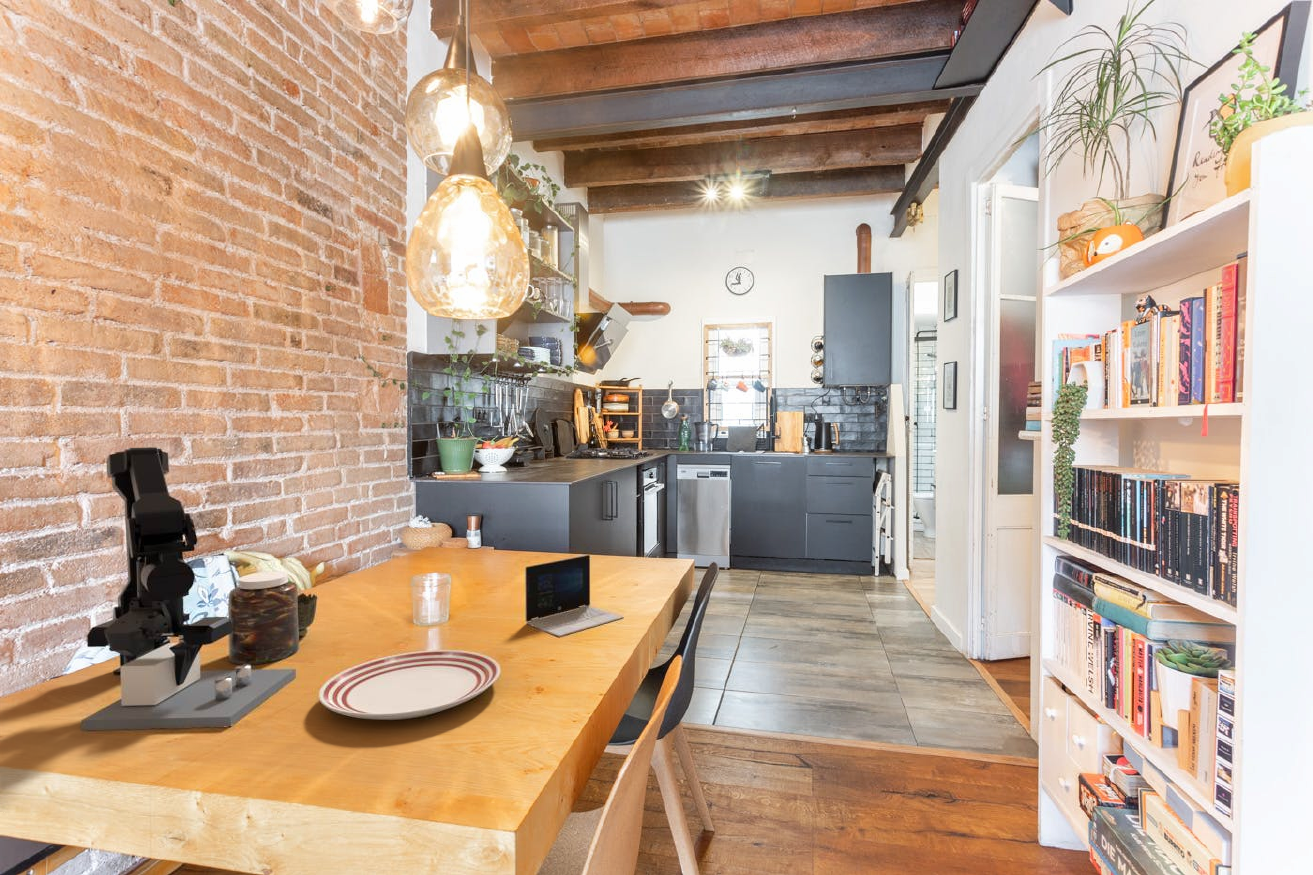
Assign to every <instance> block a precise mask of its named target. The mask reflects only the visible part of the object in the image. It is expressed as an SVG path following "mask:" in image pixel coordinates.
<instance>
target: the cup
mask: <svg viewBox="0 0 1313 875" xmlns="http://www.w3.org/2000/svg"><path fill="white" fill-rule="evenodd" d="M317 601H318V596H317V594H313V595H312V594H311V593H310V594H308V595H307V594H306V593H304V592H303V593H299V595H298V616H299V638H302V637H303V638H304V636H306V635H307V634H308V630H309V629H308V627H310V626H311V625H312V624H313V623H314V620H315V618H316V611H317V603H318V602H317Z"/></svg>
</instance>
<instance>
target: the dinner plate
mask: <svg viewBox="0 0 1313 875" xmlns="http://www.w3.org/2000/svg"><path fill="white" fill-rule="evenodd" d="M500 675H501V667H500V664H499V663H498V662H497V661H496V660H495V659H493V658H492V657H490V656H488V655H485V654H482V653H478V652H474V651H473V652H472V651H467V650H457V649H455V650H454V649H437V650H434V649H433V650H420V651H419V650H418V651H413V652H411V651H410V652H404V653H398V654H395V655H394V654H393V655H389V656H384V657H380V658H377V659H376V658H375V659H373V660H369V661H366V662H363V663H360V664H357V665H355V666H352V667H349V668H347V669H345V670H342V671H341V672H338V673H337V674H336V675H334V676H333V677H331V678H329V679H328V680H327V681H326V682H325V683H324V684H323V685H322V686H321V687H320V689H319V691H318V700H319V702H320V703H321V704H322V706H324V707H325V708H327V709H328V710H330V711H332V712H334V713H337V714H340V715H343V716H348V717H352V718H358V719H366V720H378V721H379V720H382V721H395V720H396V721H399V720H409V719H416V718H421V717H425V716H430V715H433V714H436V713H439V712H443V711H445V710H448V709H450V708H454V707H456V706H458V705H461V704H464V703H465V702H468V701H469V700H471V699H473V698H476V697H477V696H479V695H480V694H481V693H483V692H484V691H486V690H488V688H490V687H491V686H492V685H493V684H494V683H495V682H496V681H497V679H498V678H499V677H500Z"/></svg>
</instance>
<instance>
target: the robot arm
mask: <svg viewBox="0 0 1313 875" xmlns="http://www.w3.org/2000/svg"><path fill="white" fill-rule="evenodd" d="M169 462H170V461H169V453H168V452H166V451H163V450H162V448H158V447H156V446H152V447H129V448H128V449H124V451H115V453H110V454H109V455H108V457H107V459H106V475H107V478H111V483H112V489H113V490H114V491H115V492H116V493H117V494H118V496H120V498H121V499H122V500H123V502H124V504H123V505H124V518H125V521H124V522H125V543H126V563H127V566H126V567H127V582H126V583H125V585H124V587H123V589H122V590H121V592H120V593H119V594H118V597H117V606H114V607H113V610H112V619H111V620H109V621H106V622H105V621H104V622H103V623H100V624H97V625H95V626H93V627H91V629H90V630H89V632H88V633H87V634H86V645H87V648H101V647H102V648H106V647H107V646H109V648H108V650H109V651H110V652H116V653H118V654H119V668H116V669H114V670H113V671H112V674H113V675H115V674H116V675H121V668H120V666H122V665H124V664H126V663H128V662H131V661H133V660H135V659H137V658H139V657H141V656H143V655H145V654H147V653H149V652H151V651H154V650H156V649H158V648H160V647H162V646H164V645H166V644H168V643H171V639H170V638H178V642H177V643H178V644H176V645H174V646H172V647H170V648H169V649H170V650H171V651H172V652H173V653H174V654H175V679H176V684H177V685H181V684H183V683H184V681H185V679H186V677H187V675H188V672H189V670H190V668H191V666H192V664H193V662H194V660H195V658H196V656H197V654H198V652H199V651H200V650H201V648H202V647H203V646H208V645H211V644H213V643H215V642H217V641H219V640H221V639H224V637H226V636H229V634H231V633H232V622H231V621H230V620H229V619H228V617H227V616H205V617H204V618H201V619H199V620H197V621H195V622H192V623H187V624H185V622H188V621H189V620H190V613H184V598H185V597H187V596H189V595H190V590H191V588H192V587H193V585H194V583H195V580H196V578H195V577H196V575H195V572H194V569H193V568H192V567H191V565H189V564H188V563H187V562H185V560H184V553H187V552H195V545H196V546H197V543H198V536H197V531H196V527H195V522H194V519H193V518H191V514H190V513H189V512H185V509H184V506H183V505H182V501H181V500H179V499H176V498H175V497H172V495H171V496H170V492H169V488H168V485H167V480H166V478H165V476H166V475H168V474H169V473H170V467H169V466H170V465H169V464H170V463H169ZM184 539H185V540H184ZM200 652H201V651H200Z"/></svg>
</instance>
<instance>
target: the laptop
mask: <svg viewBox="0 0 1313 875" xmlns="http://www.w3.org/2000/svg"><path fill="white" fill-rule="evenodd" d="M590 563H591V557H590V555H589V554H586V555H580V556H575V557H571V558H565V559H559V560H554V561H553V560H552V561H549V562H543V563H538V564H533V565H528V566H525V569H524V572H525V622H526V625H527V624H529V625H531V626H530V627H532V625H533V627H532V628H534V627H535V629H538V630H539V631H542V632H544V633H547V634H551V635H553V636H556V637H559V638H560V637H564V636H567V635H570V634H574V633H577V632H582V631H583V630H587V629H591V628H595V627H598V626H601V625H605V624H607V623H611V622H614V621H619V620H622V619H624V616H623V615H620V614H617V613H615V612H614V613H613V612H611V611H607V610H605V609H602V608H598V607H595V606H592V605H591V576H590V574H591V564H590ZM529 625H528V626H529Z"/></svg>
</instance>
